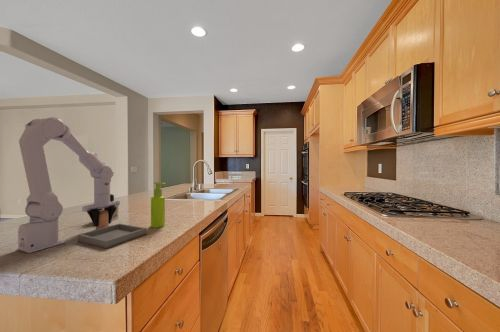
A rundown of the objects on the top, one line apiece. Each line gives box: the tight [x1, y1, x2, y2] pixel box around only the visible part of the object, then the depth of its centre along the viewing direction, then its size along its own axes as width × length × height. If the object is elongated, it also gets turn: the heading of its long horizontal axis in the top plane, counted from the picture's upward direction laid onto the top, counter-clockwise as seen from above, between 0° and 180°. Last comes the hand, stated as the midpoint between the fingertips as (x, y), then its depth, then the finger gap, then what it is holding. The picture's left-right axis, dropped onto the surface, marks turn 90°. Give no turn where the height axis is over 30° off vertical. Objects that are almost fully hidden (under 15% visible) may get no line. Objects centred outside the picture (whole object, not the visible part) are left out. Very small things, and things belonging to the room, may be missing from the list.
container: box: [97, 193, 119, 222], centre depth 107 cm, size 8×8×13 cm
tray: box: [77, 223, 148, 250], centre depth 82 cm, size 16×16×2 cm
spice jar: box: [95, 210, 110, 230], centre depth 92 cm, size 5×5×8 cm
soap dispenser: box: [150, 181, 167, 228], centre depth 98 cm, size 6×7×20 cm
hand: (102, 224), depth 92 cm, fingers closed on spice jar, 5 cm apart
